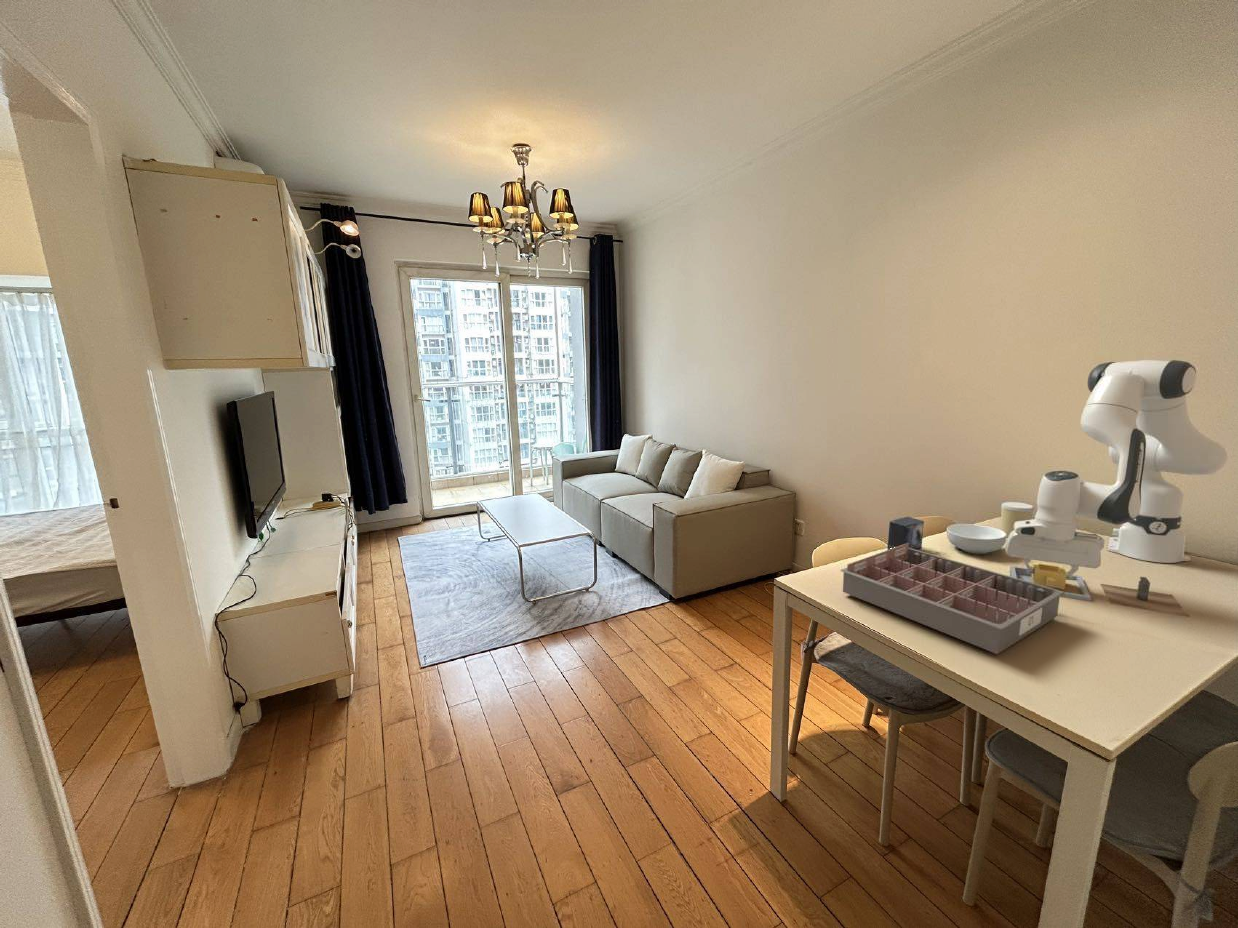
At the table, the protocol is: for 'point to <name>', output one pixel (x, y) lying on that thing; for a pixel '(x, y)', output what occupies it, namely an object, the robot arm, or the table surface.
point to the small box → (905, 533)
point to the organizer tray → (952, 596)
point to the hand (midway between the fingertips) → (1048, 576)
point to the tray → (1023, 575)
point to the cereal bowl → (976, 538)
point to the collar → (1049, 575)
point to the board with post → (1143, 598)
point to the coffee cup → (1014, 515)
